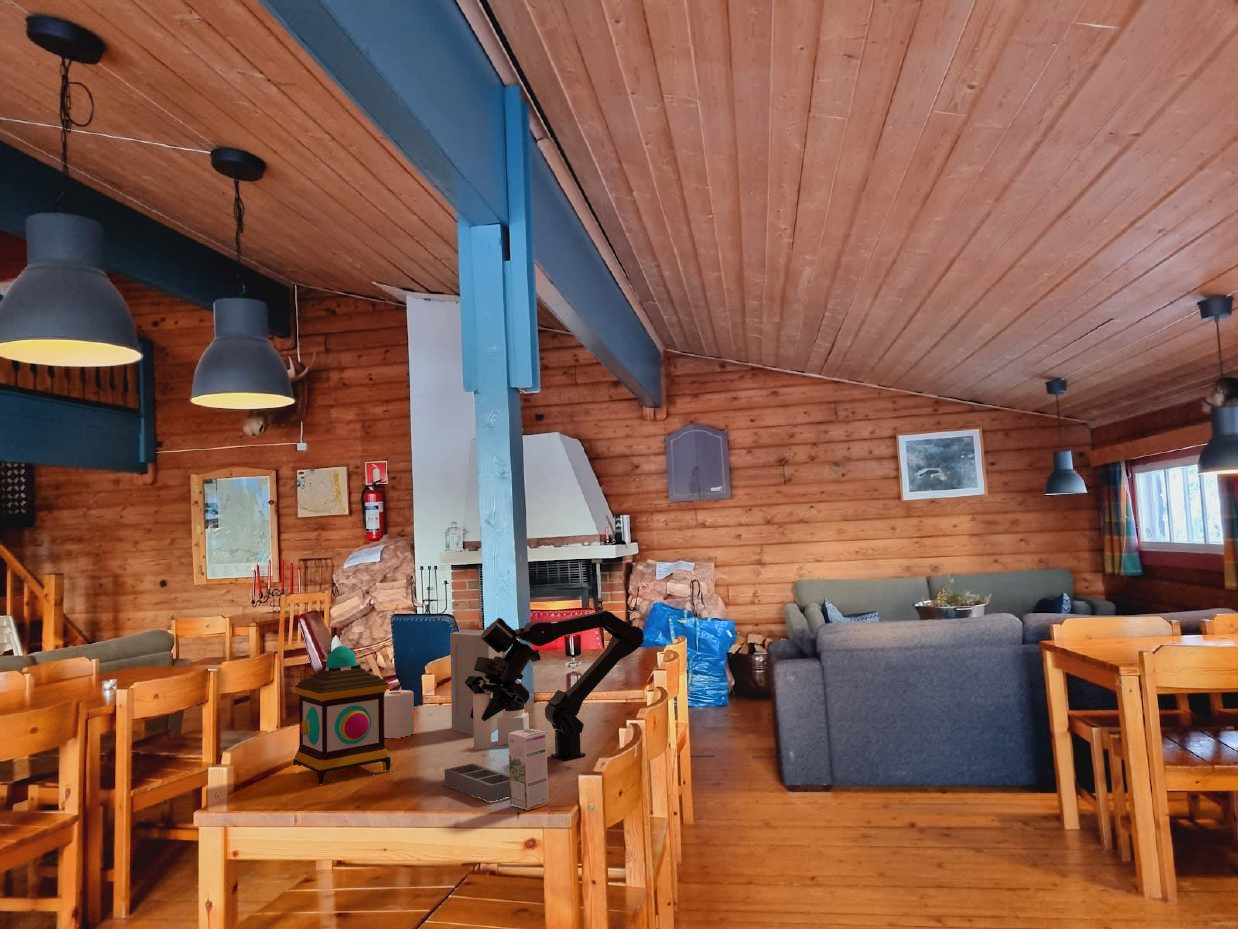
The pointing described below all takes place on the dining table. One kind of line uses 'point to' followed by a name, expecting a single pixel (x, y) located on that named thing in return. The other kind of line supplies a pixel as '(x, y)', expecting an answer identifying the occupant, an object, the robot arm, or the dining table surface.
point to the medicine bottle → (512, 721)
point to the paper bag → (462, 665)
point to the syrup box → (528, 767)
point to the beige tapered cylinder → (481, 721)
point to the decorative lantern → (341, 717)
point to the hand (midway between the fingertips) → (477, 719)
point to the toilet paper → (398, 713)
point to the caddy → (478, 781)
